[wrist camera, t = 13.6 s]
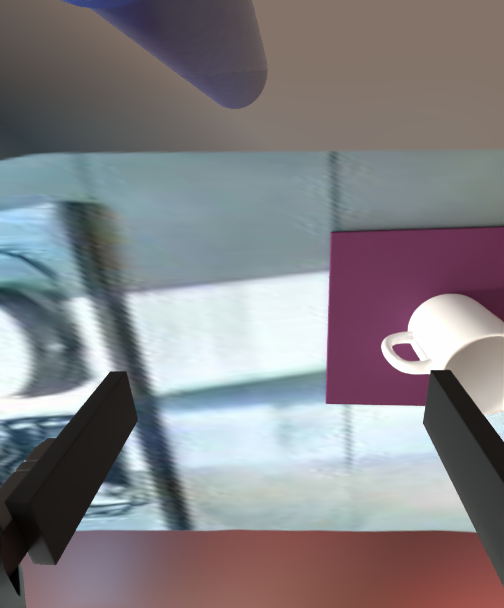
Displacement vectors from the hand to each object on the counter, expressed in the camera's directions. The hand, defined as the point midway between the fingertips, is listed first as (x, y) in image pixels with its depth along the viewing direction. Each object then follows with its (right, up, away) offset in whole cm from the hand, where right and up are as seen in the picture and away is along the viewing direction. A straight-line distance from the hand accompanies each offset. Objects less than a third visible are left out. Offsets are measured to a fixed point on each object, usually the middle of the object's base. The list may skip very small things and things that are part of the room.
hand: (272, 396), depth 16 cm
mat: (+19, +2, +26) cm, 32 cm away
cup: (+19, +2, +25) cm, 32 cm away
